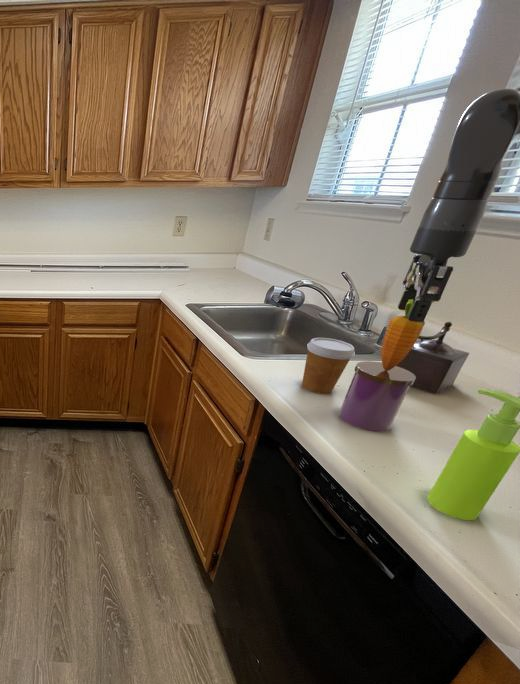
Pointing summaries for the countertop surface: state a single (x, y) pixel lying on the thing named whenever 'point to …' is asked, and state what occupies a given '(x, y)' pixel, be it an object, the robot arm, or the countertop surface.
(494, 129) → the robot arm
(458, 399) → the countertop surface
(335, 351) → the disposable coffee cup
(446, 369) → the brown manual coffee grinder
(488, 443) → the soap dispenser
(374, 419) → the jar
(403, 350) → the carrot
